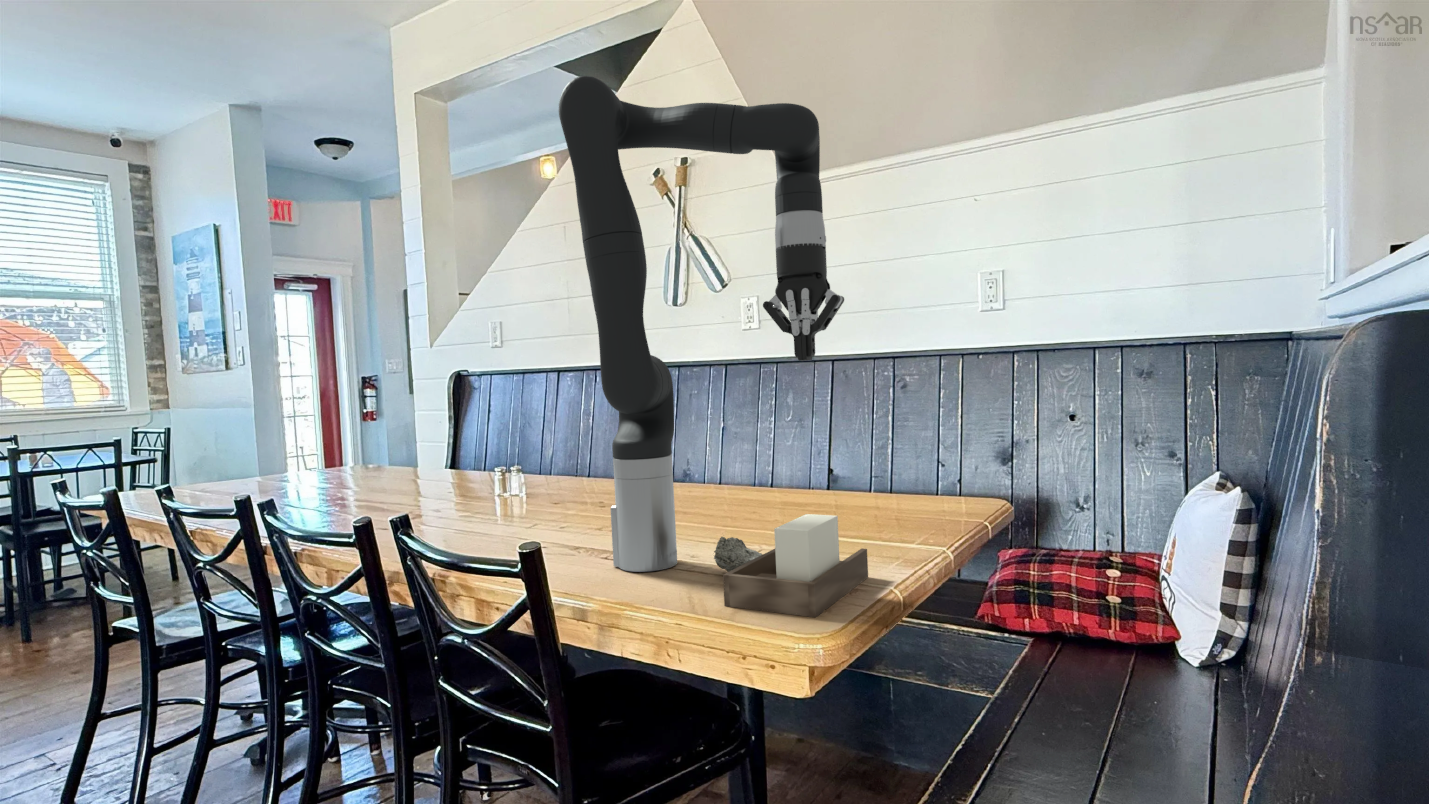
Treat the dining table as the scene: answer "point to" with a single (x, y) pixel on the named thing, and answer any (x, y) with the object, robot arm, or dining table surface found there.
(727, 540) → the rock sample
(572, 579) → the dining table surface
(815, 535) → the brick
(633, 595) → the dining table surface
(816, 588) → the box
